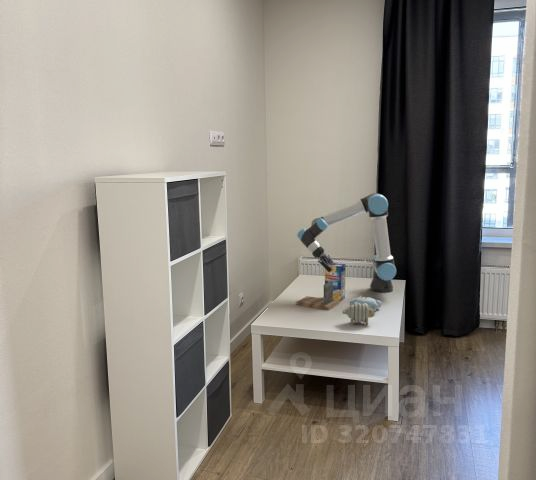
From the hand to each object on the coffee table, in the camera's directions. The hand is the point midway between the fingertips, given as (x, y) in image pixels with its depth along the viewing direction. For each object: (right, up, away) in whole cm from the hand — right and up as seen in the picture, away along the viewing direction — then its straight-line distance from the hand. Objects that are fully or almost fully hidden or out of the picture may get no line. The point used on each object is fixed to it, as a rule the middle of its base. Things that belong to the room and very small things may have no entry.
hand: (340, 278), depth 328 cm
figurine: (+12, -17, -18) cm, 28 cm away
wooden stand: (-15, -15, -7) cm, 22 cm away
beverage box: (-3, -13, +4) cm, 14 cm away
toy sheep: (+4, -21, -42) cm, 47 cm away
